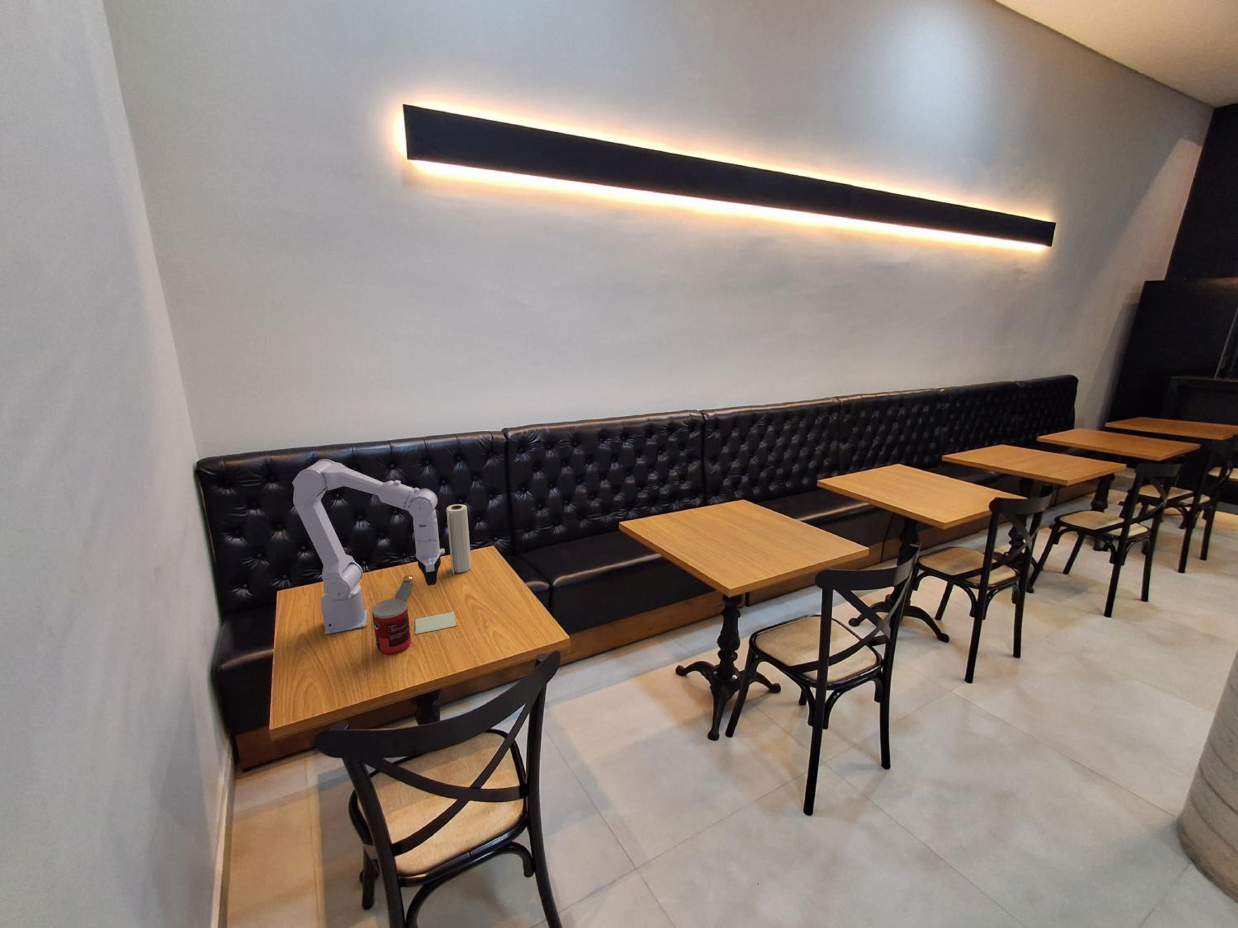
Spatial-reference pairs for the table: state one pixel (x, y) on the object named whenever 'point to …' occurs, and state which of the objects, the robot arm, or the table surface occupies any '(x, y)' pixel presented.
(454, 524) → the paper towel roll
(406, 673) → the table surface
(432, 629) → the plate
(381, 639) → the canned food
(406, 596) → the grey copper-tipped rod
